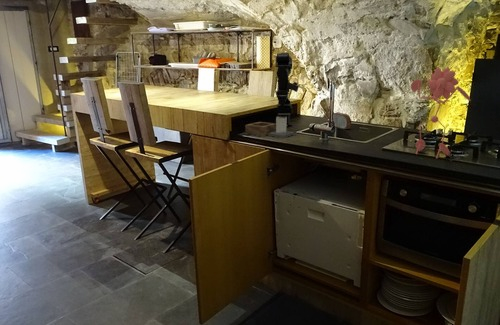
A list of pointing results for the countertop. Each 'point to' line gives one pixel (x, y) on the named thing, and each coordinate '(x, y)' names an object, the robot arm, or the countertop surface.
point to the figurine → (439, 86)
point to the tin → (342, 120)
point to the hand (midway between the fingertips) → (283, 107)
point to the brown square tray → (260, 128)
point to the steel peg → (281, 125)
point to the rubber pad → (281, 134)
